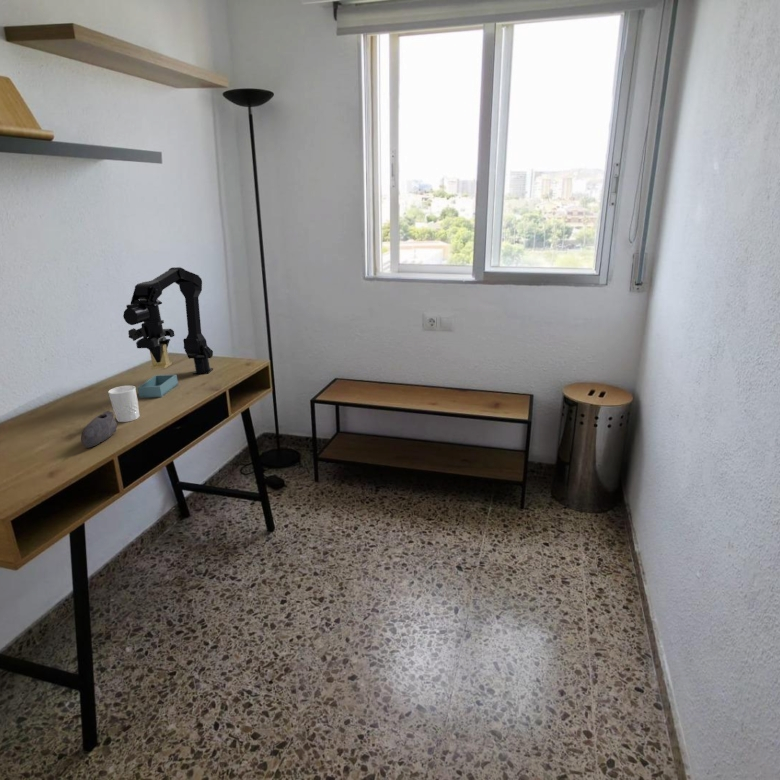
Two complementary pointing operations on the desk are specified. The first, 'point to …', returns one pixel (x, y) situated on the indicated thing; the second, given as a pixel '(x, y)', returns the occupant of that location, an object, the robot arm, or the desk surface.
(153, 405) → the desk surface
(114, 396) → the white cup
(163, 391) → the blue rectangular open bin
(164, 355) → the brass bracket
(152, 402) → the desk surface
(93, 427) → the perforated stone tool
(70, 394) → the desk surface
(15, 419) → the desk surface
